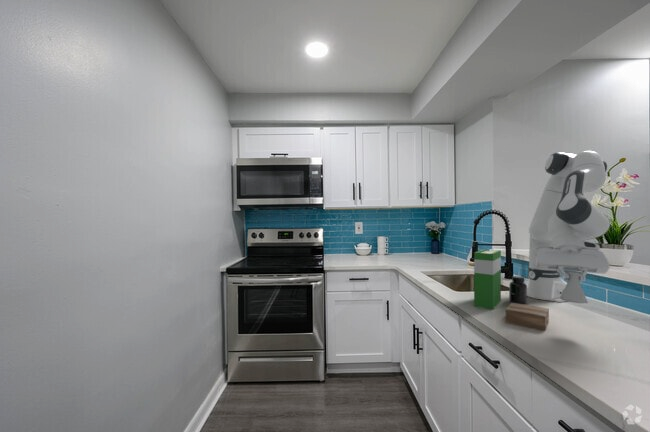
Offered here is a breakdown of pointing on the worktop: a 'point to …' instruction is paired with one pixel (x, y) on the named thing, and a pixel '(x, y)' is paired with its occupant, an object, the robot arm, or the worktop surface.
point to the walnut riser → (527, 316)
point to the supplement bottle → (518, 290)
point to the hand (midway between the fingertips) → (574, 279)
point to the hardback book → (487, 279)
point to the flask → (573, 290)
